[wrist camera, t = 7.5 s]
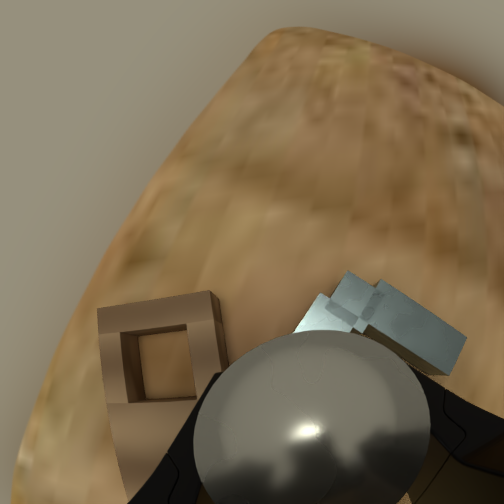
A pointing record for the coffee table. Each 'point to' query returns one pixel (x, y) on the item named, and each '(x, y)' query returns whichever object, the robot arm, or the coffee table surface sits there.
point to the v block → (387, 323)
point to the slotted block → (131, 382)
